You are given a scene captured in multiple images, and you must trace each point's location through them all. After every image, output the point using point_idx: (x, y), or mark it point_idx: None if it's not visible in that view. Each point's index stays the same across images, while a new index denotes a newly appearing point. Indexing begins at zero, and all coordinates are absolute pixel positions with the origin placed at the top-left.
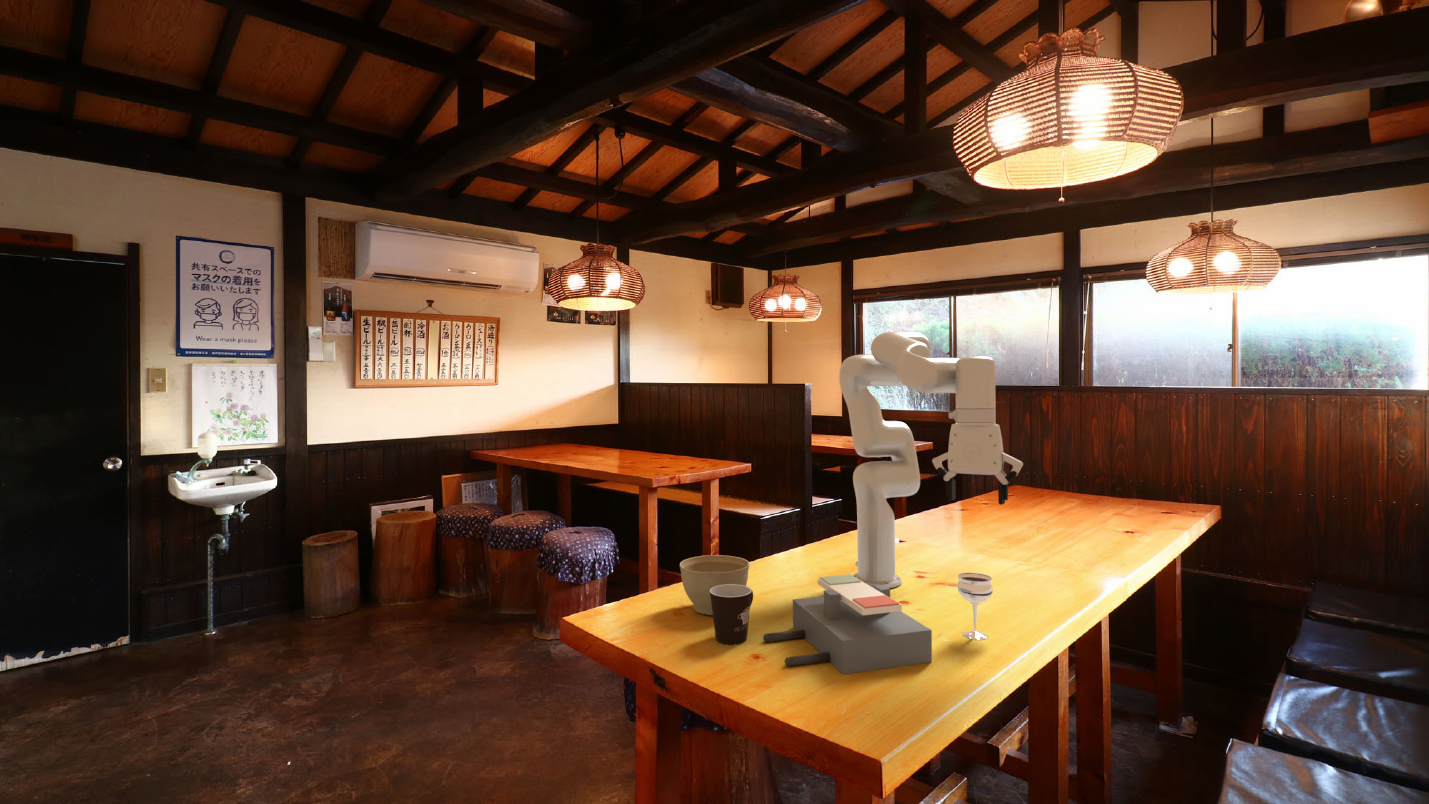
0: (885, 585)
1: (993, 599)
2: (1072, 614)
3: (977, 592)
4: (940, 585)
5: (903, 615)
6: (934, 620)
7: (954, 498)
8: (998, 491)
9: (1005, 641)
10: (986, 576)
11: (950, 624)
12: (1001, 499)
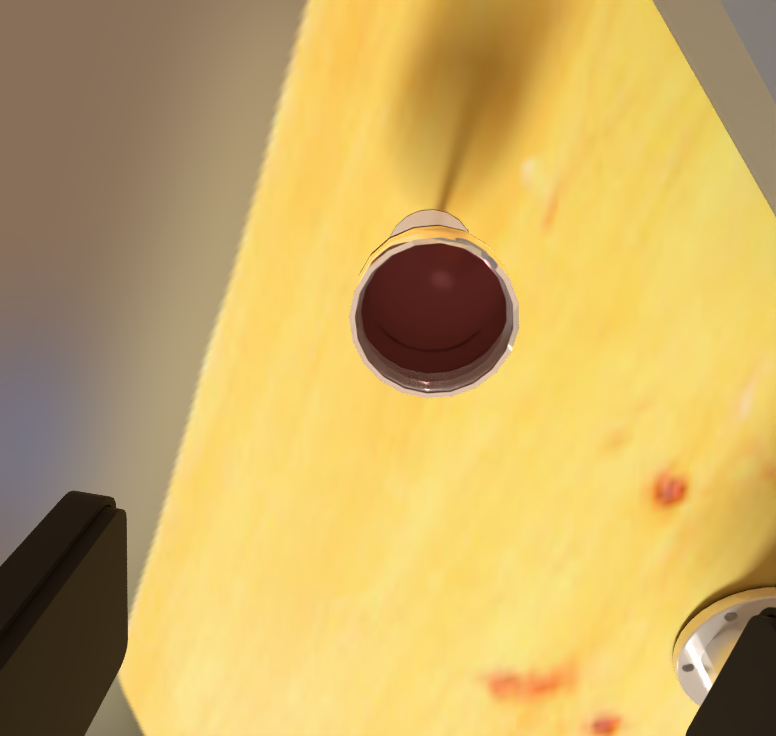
0: (736, 602)
1: (380, 596)
2: (158, 539)
3: (419, 227)
4: (542, 670)
5: (755, 14)
6: (567, 351)
7: (707, 707)
8: (9, 648)
9: (330, 233)
10: (379, 371)
11: None
12: (41, 528)
